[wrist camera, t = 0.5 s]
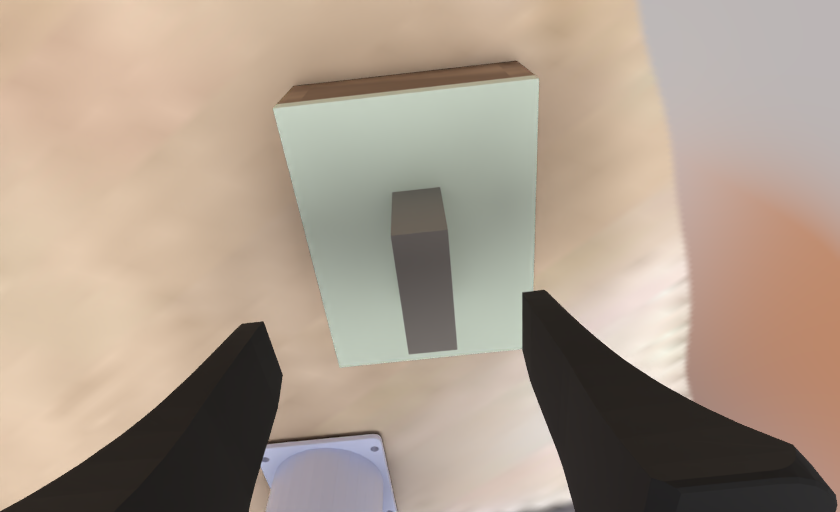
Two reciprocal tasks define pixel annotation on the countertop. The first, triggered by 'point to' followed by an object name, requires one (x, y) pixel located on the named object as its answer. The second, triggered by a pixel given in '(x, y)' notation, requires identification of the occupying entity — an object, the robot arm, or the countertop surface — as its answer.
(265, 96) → the countertop surface
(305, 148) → the lid
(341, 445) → the robot arm
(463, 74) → the box
